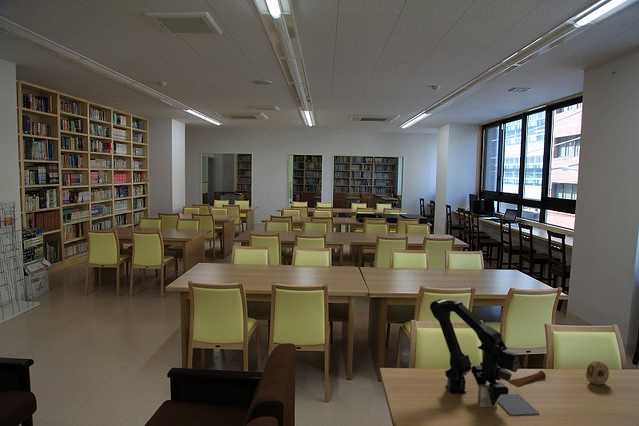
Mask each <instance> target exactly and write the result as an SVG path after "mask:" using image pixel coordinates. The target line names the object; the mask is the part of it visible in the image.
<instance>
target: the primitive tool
mask: <svg viewBox="0 0 639 426" xmlns="http://www.w3.org/2000/svg"><path fill="white" fill-rule="evenodd" d="M546 377H547V376H546V373H545V372H544V371H543V370H540V371H538V372H536V373H534V374H530V375H528V376H524V377H519V378H515V379H510V380H509V382H508V383H509V384H510V385H513V386H514V387H516V388H520V387H523V386H525V385H528V384H530V383H532V382H534V381H537V380H540V379H542V380H543V379H546Z"/></svg>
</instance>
